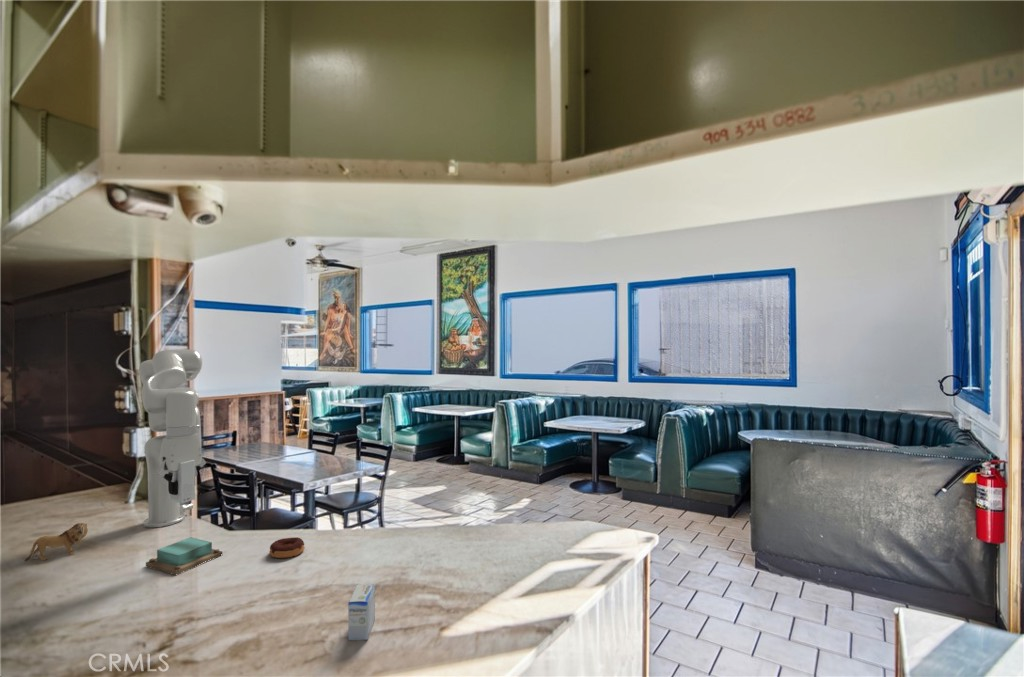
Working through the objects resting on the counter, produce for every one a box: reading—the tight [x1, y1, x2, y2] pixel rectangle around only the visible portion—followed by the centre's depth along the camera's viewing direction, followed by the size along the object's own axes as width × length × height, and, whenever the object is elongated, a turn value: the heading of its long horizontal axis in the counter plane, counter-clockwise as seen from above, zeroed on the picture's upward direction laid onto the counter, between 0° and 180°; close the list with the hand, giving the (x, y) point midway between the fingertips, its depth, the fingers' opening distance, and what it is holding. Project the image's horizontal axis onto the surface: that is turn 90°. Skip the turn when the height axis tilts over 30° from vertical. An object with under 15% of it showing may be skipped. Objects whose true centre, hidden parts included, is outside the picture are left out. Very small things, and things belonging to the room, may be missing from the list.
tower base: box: [145, 536, 223, 576], centre depth 150 cm, size 14×14×4 cm
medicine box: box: [347, 583, 376, 641], centre depth 113 cm, size 8×4×9 cm, turn 5°
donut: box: [269, 536, 305, 559], centre depth 155 cm, size 10×10×4 cm
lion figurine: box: [24, 522, 88, 562], centre depth 154 cm, size 15×5×9 cm, turn 130°
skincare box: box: [170, 460, 196, 504], centre depth 150 cm, size 6×4×12 cm
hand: (182, 491), depth 150 cm, fingers closed on skincare box, 4 cm apart
